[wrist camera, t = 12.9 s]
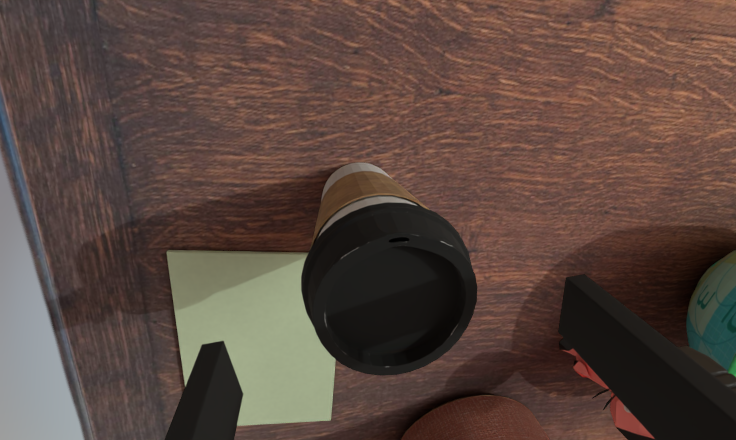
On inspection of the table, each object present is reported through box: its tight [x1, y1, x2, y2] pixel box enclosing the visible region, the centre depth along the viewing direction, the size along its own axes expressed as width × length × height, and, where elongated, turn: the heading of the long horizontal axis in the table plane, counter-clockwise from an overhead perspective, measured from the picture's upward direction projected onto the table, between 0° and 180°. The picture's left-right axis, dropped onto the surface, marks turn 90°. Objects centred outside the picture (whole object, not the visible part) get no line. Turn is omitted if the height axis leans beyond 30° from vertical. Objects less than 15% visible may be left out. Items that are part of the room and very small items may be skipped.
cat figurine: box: [559, 338, 655, 440], centre depth 34 cm, size 7×7×12 cm
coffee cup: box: [301, 162, 477, 375], centre depth 22 cm, size 8×8×15 cm
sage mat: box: [166, 250, 335, 426], centre depth 33 cm, size 20×14×1 cm
